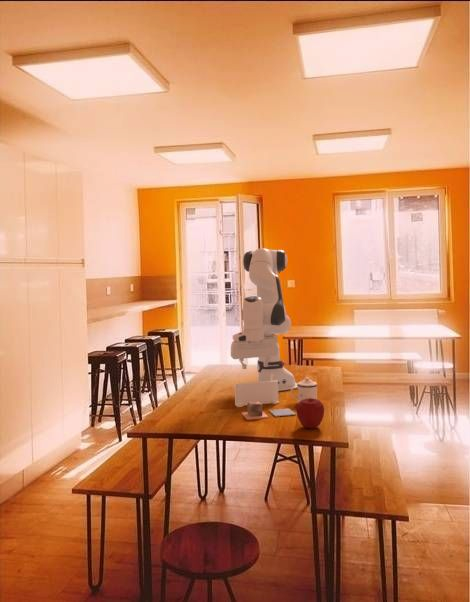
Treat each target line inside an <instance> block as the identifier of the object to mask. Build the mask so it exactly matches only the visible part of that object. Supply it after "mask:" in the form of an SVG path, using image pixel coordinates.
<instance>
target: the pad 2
mask: <svg viewBox="0 0 470 602" xmlns="http://www.w3.org/2000/svg"><path fill="white" fill-rule="evenodd" d="M268 413H270V414H271V415H272V416H273V415H274V416H275V417H274V416H273V417H274V418H281V417H280V416H284V417H291V416H290V415H294V416H297V413H295V412H294V411H293V410H291V408H278V409H269V410H268Z"/></svg>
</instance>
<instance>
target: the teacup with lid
mask: <svg viewBox="0 0 470 602" xmlns="http://www.w3.org/2000/svg"><path fill="white" fill-rule="evenodd" d="M297 383H298V384H297V386H298V387H293V388H292V389H290V393H291V396H292V397H293V398H295V399H297V404H298V403H299V402H300V401H301V400H304V399H308V398H314V399H317V400H318V383H317V382H316V381H313V380H312V379H310V377H304V379H303V380H301V381H299V382H297ZM295 389H297V395H295V394H294V393H293V391H294V390H295Z"/></svg>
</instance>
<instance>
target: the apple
mask: <svg viewBox="0 0 470 602" xmlns="http://www.w3.org/2000/svg"><path fill="white" fill-rule="evenodd" d="M295 411H296V417H297V418H298V421H299V422H300V425H301V426H303V427H304V428H306V429H309V430H313V429H317V427H319V426H320V425H321V423H322V421H323V419H324V415H325V406H324V404H323V402H321V401H320V400H319V399H318V398H317V399H314V398H308V399H304V400H301V401H300V402H299V403H298V402H297V405H296V410H295Z"/></svg>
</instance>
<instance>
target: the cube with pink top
mask: <svg viewBox="0 0 470 602" xmlns="http://www.w3.org/2000/svg"><path fill="white" fill-rule="evenodd" d="M246 406H247V412H248V414H249V415H250V416H251V417H252V416H262V411H263V404H261V403H260V402H258V401H254V402H249V403H247V405H246Z"/></svg>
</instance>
